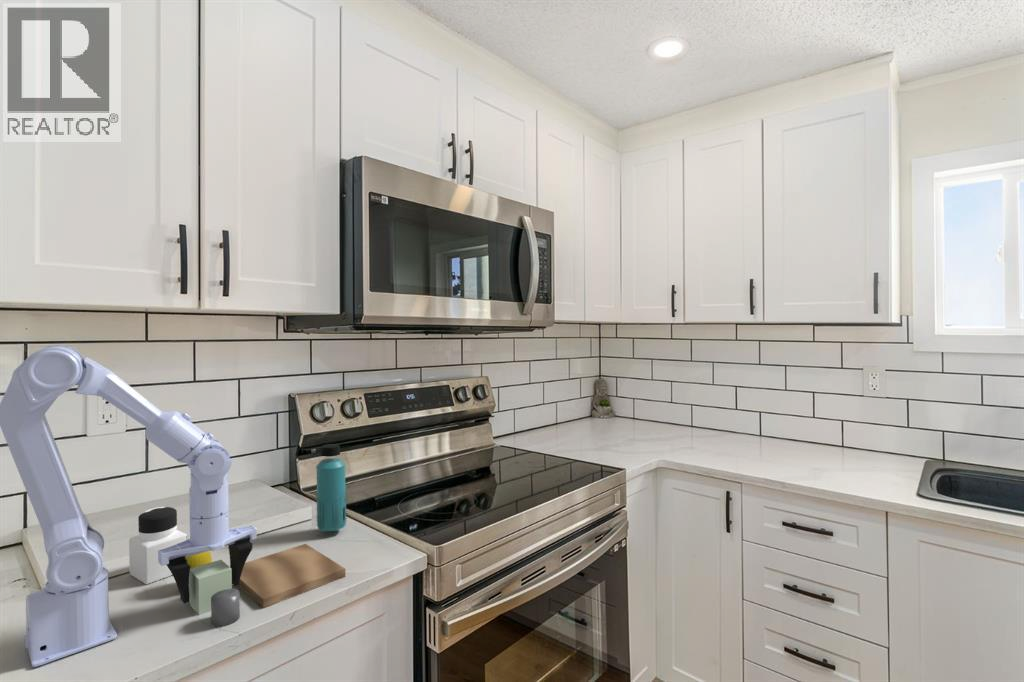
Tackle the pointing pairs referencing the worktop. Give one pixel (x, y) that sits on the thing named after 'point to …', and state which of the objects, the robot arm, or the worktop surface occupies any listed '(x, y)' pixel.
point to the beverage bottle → (331, 490)
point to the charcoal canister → (225, 607)
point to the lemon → (199, 559)
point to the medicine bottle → (153, 543)
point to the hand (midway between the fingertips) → (210, 592)
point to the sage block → (208, 584)
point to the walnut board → (287, 574)
